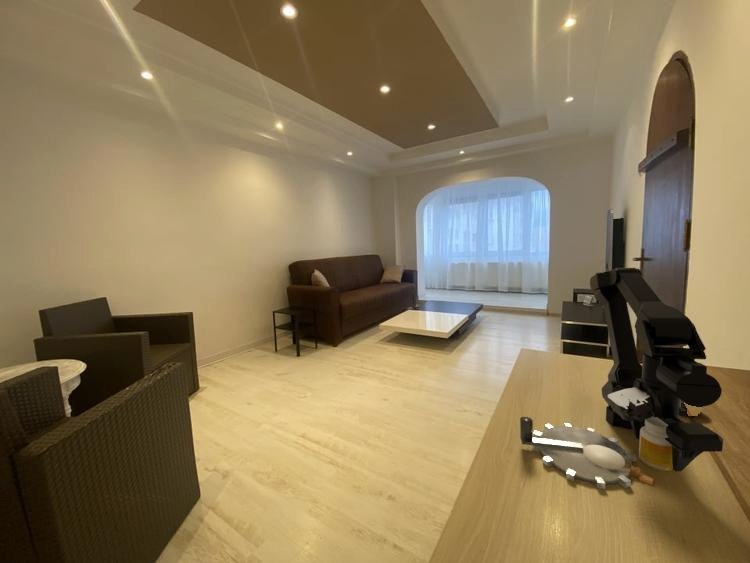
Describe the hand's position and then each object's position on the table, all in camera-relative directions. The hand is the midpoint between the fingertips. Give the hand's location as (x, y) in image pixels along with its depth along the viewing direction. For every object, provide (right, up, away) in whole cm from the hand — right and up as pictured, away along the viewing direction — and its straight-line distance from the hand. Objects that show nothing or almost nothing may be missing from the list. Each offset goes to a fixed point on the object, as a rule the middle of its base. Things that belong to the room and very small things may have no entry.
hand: (656, 453), depth 61 cm
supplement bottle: (0, -3, 0) cm, 3 cm away
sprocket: (-14, -2, +4) cm, 14 cm away
